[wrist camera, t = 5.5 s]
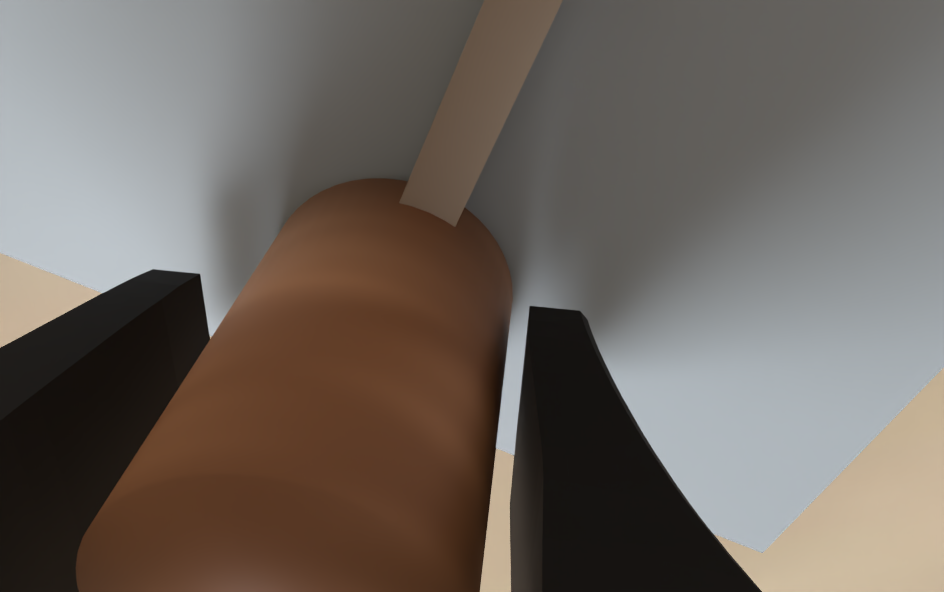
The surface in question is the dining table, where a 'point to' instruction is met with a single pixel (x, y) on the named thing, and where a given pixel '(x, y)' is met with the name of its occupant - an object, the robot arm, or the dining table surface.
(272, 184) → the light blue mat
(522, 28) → the brown block on rod
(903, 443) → the dining table surface
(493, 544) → the dining table surface
